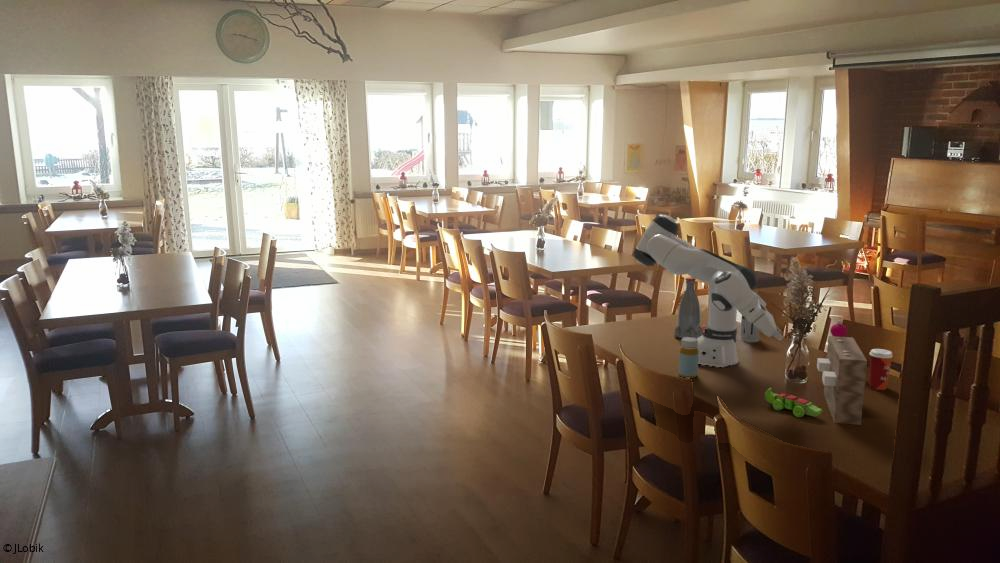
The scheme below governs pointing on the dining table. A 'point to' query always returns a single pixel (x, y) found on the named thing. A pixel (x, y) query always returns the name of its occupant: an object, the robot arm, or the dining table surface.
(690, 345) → the bottle
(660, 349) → the dining table surface
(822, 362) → the grey block
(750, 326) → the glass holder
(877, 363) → the paper cup
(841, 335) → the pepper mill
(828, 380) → the off-white rectangular block
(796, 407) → the toy crocodile
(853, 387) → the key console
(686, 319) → the bottle
